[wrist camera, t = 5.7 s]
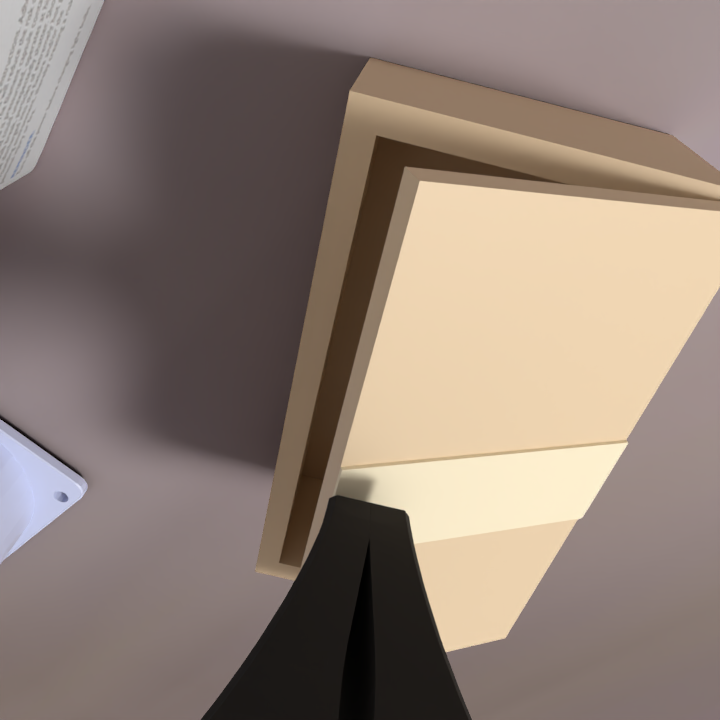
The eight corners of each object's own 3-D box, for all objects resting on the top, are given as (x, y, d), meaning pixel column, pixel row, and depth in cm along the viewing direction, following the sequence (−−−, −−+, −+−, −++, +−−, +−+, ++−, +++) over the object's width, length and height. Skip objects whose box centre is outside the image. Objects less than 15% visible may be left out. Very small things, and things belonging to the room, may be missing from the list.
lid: (496, 621, 18) (506, 640, 17) (273, 671, 15) (279, 694, 15) (739, 203, 11) (766, 217, 10) (404, 166, 8) (421, 183, 8)
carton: (484, 519, 21) (494, 625, 18) (283, 473, 21) (255, 571, 18) (672, 135, 14) (746, 192, 11) (370, 57, 14) (349, 90, 10)
